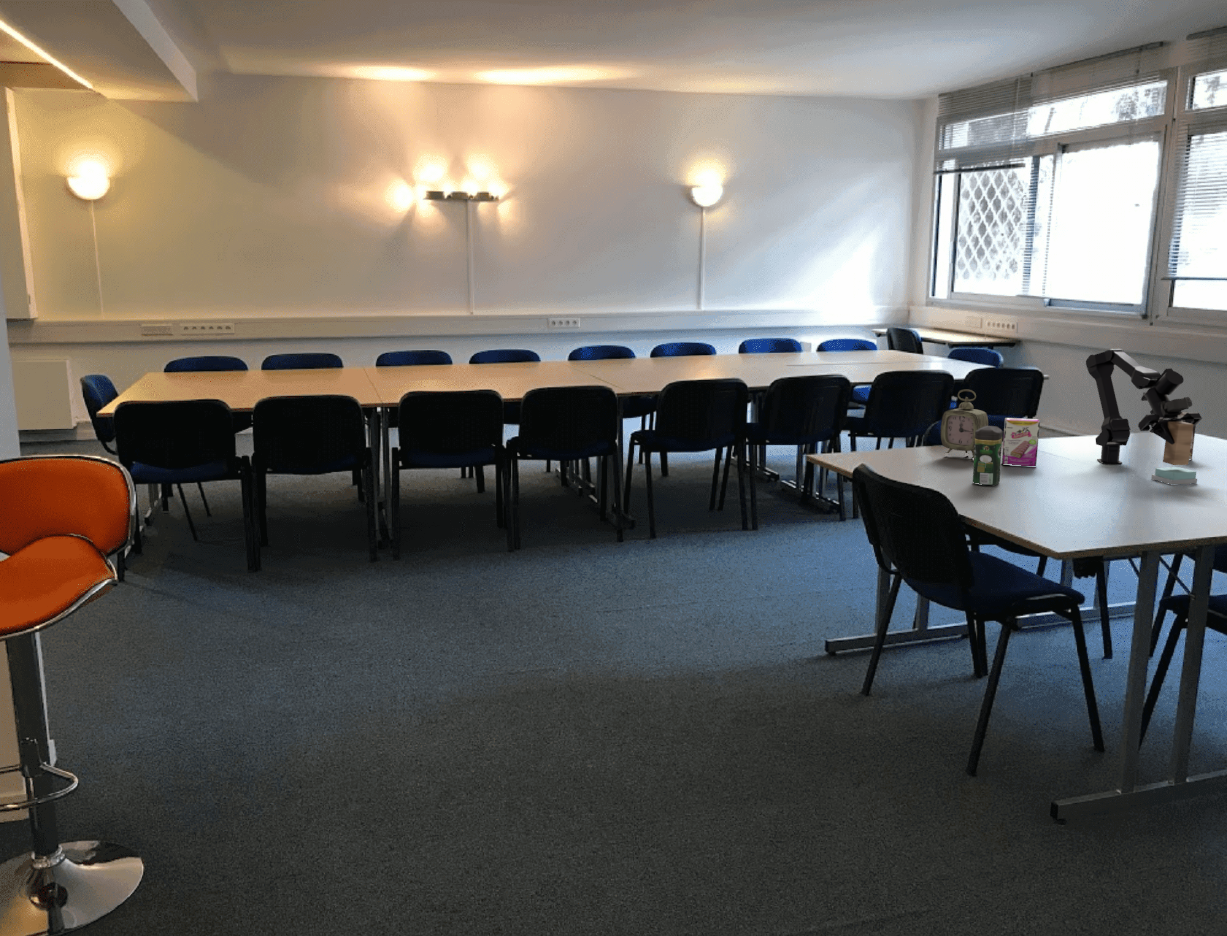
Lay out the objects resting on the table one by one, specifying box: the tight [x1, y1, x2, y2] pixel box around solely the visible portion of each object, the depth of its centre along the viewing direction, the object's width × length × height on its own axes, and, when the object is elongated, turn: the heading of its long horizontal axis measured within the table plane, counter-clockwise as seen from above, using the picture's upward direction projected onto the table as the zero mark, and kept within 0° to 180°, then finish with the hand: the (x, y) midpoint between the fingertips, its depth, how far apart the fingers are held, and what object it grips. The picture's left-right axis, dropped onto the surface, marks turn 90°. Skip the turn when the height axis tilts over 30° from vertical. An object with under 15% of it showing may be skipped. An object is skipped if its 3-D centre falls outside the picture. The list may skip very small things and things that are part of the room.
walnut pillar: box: [1162, 422, 1193, 466], centre depth 309 cm, size 5×5×13 cm
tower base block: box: [1150, 473, 1198, 485], centre depth 311 cm, size 9×9×2 cm
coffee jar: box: [972, 425, 1004, 486], centre depth 311 cm, size 10×8×19 cm
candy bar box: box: [1001, 417, 1041, 467], centre depth 337 cm, size 11×5×16 cm, turn 71°
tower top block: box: [1154, 466, 1197, 480], centre depth 311 cm, size 8×8×2 cm
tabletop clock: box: [940, 388, 989, 459], centre depth 352 cm, size 14×9×25 cm, turn 42°
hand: (1181, 443), depth 307 cm, fingers closed on walnut pillar, 5 cm apart
